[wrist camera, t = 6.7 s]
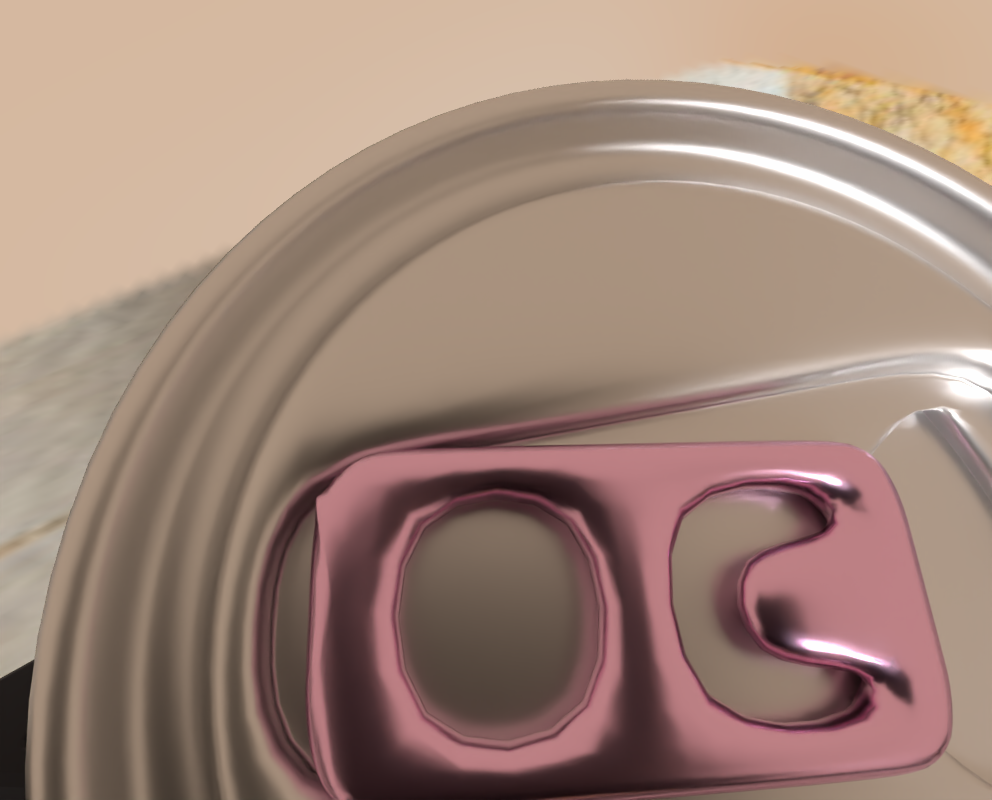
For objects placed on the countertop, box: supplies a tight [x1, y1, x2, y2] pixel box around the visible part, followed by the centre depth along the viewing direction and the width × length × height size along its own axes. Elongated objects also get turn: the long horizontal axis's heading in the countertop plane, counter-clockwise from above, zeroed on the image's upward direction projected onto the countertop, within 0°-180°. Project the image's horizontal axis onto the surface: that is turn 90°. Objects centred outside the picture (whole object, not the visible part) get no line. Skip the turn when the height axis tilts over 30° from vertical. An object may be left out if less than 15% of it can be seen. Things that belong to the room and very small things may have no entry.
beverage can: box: [25, 80, 992, 800], centre depth 10 cm, size 6×6×15 cm
